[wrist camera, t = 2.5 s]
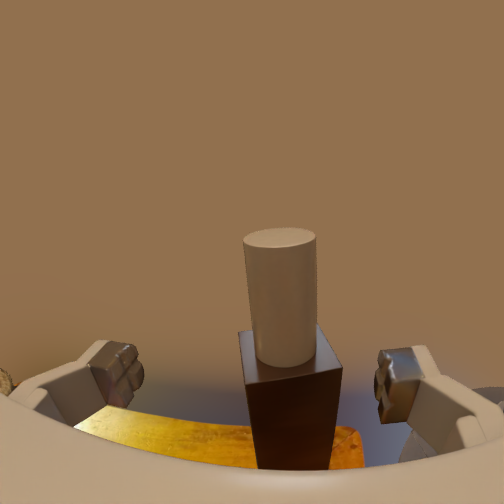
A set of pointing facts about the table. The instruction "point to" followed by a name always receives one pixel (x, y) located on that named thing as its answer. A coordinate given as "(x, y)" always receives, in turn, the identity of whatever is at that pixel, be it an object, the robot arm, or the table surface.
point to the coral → (6, 383)
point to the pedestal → (292, 407)
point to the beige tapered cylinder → (282, 294)
